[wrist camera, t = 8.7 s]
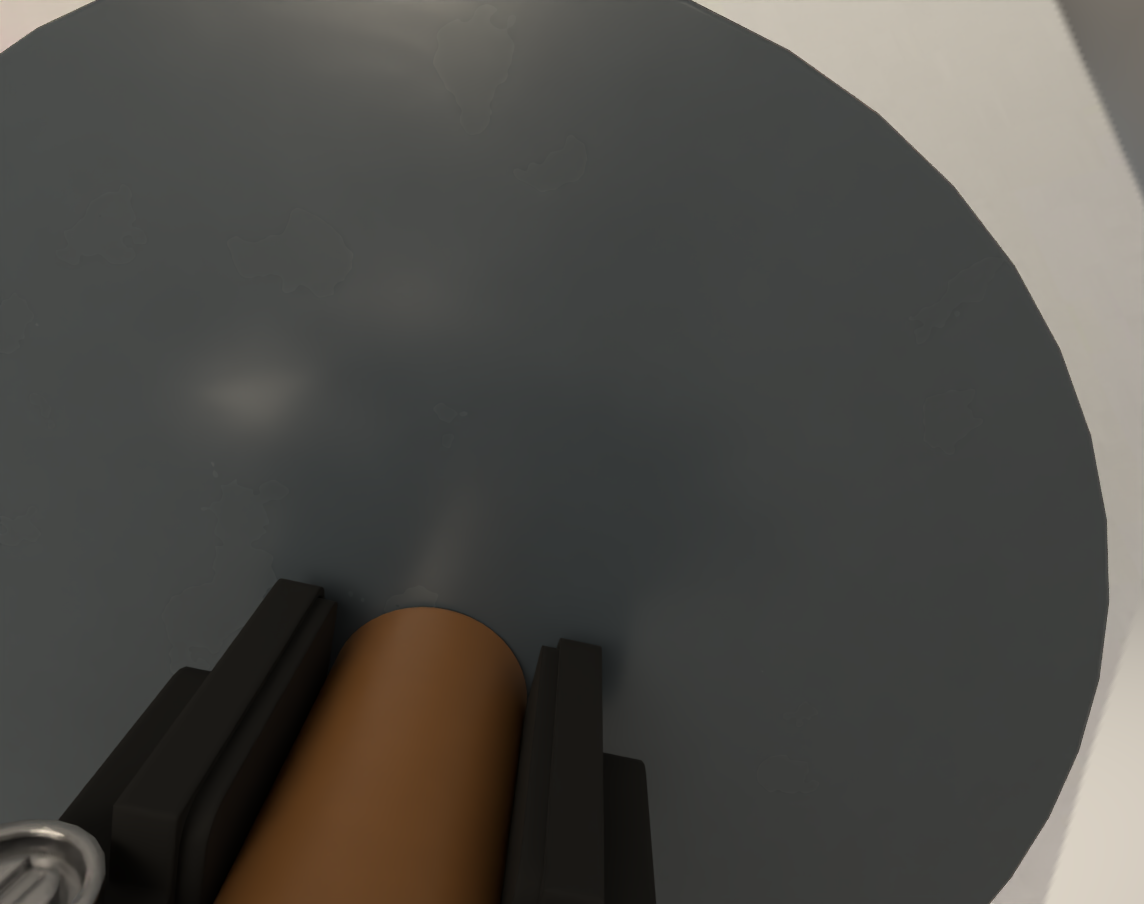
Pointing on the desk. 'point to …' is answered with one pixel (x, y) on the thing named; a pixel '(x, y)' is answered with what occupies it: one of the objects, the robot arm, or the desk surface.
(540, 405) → the lid
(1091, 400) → the desk surface
